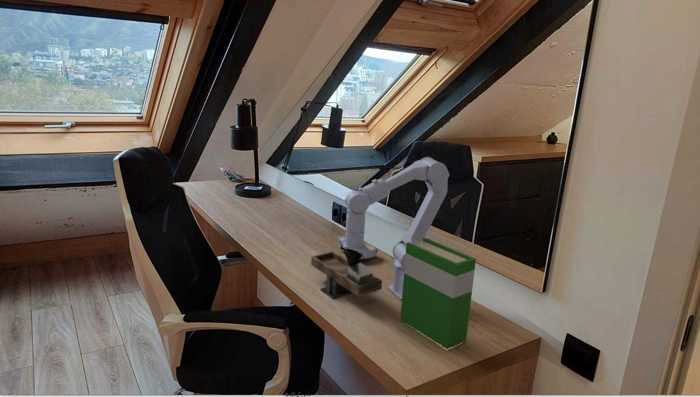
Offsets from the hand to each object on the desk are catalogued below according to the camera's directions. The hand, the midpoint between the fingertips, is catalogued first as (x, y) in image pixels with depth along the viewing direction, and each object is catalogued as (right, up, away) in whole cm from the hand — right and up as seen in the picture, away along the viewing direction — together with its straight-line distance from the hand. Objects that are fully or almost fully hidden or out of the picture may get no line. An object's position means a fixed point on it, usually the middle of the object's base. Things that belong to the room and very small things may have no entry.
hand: (352, 271), depth 145 cm
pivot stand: (-3, -7, +6) cm, 9 cm away
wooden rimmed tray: (-3, -2, +4) cm, 6 cm away
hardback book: (+22, -14, -17) cm, 31 cm away
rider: (+1, -2, -2) cm, 3 cm away
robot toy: (+2, 0, +34) cm, 34 cm away
